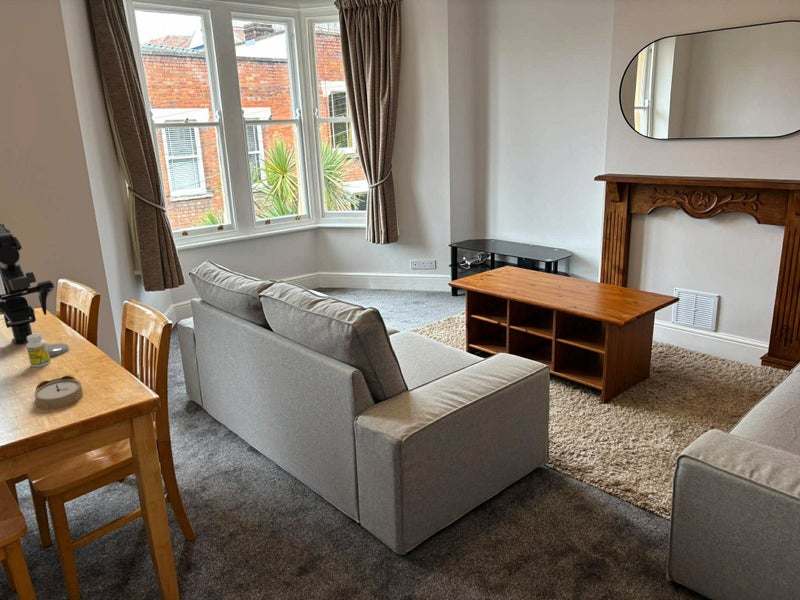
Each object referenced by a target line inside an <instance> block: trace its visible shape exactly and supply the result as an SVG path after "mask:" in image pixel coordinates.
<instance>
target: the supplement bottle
mask: <svg viewBox="0 0 800 600" xmlns="http://www.w3.org/2000/svg"><path fill="white" fill-rule="evenodd" d="M27 341H28V342H26V344H25V345H26V347H25V348H26V351H27V355H28V358H29V362H30V366H31V367H32V368H33V367H34V368H41V367H45V366H47V365H49V364H50V363H51V358H50V357H49V353H48V349H47V345H48V344H47V342H46V340H45V339H43V336H42V334H41V333H32V335H29V336H27Z"/></svg>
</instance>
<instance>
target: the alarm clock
mask: <svg viewBox="0 0 800 600" xmlns="http://www.w3.org/2000/svg"><path fill="white" fill-rule="evenodd" d="M83 396H84V392H83V387H82V382H81V381H80V380H78V379H77V378H76V377H75V376H73V375H69V374H68V375H64V376H62V377H58V378H53V379H50V380H42V381H40V382H39V383H38V384H37V385H36V388H35V391H34V397H35V402H36V405H37V407H38V408H39V409H43V410H52V409H54V410H55V409H59V407H60V408H63V407H67V406H70V405H72V404H74V403H77V402H78V401H79V399H80V400H81V399H82V398H83ZM81 397H82V398H81ZM76 401H77V402H76ZM69 404H70V405H69ZM66 405H67V406H66Z"/></svg>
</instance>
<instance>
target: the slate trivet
mask: <svg viewBox="0 0 800 600" xmlns="http://www.w3.org/2000/svg"><path fill="white" fill-rule="evenodd" d="M46 345H47V349H48V353H49V357H50V359H51V358H54V357H58V356H61V355H63V354H66V353H68V351H69V350H70V347H69V344H66V343H51V344H46Z"/></svg>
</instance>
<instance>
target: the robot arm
mask: <svg viewBox="0 0 800 600" xmlns="http://www.w3.org/2000/svg"><path fill="white" fill-rule="evenodd" d="M22 248H23V247H22V245H21V241H19V239H18V238H17V236H14V235H13V233H11V230H9V229H7V228H5V224H3V223H0V279H1V282H2V285H3V290H4V293H3V294H0V313H1V314H3V319H4V323H5V326H6V329H9V328H11V332H12V336H13V338H12V339H11V341H12V342H13V343H14V345H21V344H25V343H28V341H27V336H29V335H32V334H33V331H32V330H33V329H32V326H31V323H35V322H36V321H37V319H36V314H35V309H34V308H33V307H32V306H31V305H29V303H28V300H27V299H26V298H25V297H24V296H28V295H31V294H36V293H37V294H39V295H38V300H39V303H40V307H41V309H42V313H43V314H44V316H46V315H47V298H48V296H49V295H51V293H52V292H53V291H54V290H55V285H54V283H53V281H51V280H49V279H48V280H46V281H41V282H38V283H37V285H36V286H31V284H32V283H36V282H37V279H36V276H35V274H34V272H33V271H30V272H26V273H25V274H24V272H23V270H22V267H21V263H20V257H21V256H20V253H19V252H21V250H22ZM24 342H25V343H24ZM20 343H21V344H20Z"/></svg>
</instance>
